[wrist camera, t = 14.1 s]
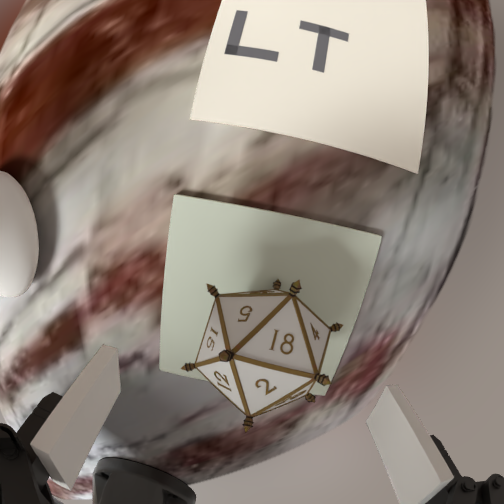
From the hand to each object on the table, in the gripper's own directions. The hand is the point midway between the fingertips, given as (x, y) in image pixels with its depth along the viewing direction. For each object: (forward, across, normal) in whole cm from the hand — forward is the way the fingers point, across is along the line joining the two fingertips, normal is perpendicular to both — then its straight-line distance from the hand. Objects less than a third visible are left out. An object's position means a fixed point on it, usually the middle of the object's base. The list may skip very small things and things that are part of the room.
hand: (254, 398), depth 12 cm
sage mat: (+9, 0, -1) cm, 9 cm away
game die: (+8, -1, 0) cm, 8 cm away
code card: (+8, -2, -22) cm, 23 cm away
